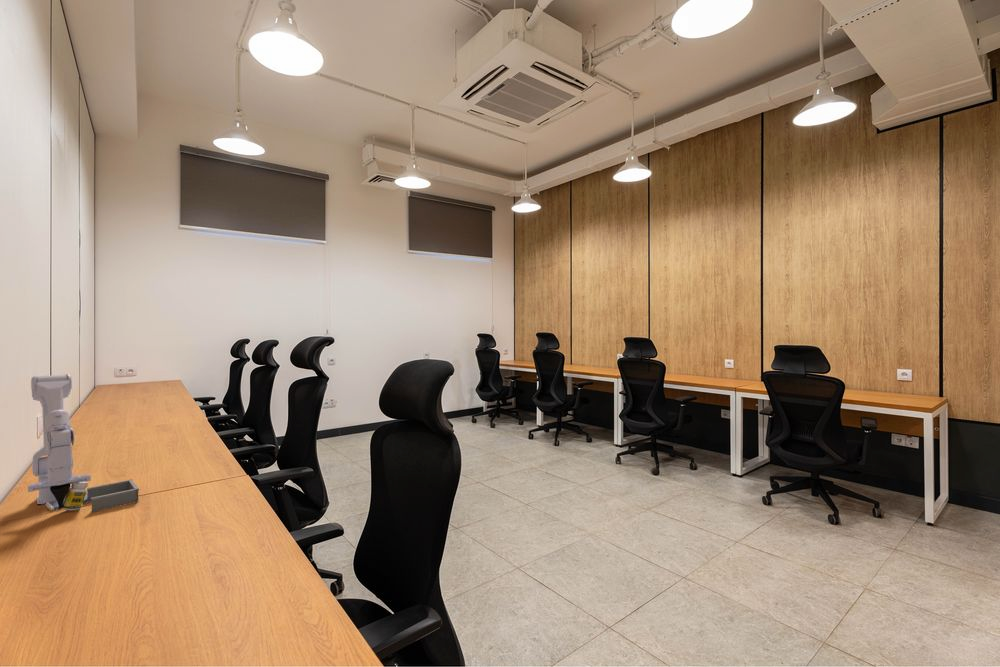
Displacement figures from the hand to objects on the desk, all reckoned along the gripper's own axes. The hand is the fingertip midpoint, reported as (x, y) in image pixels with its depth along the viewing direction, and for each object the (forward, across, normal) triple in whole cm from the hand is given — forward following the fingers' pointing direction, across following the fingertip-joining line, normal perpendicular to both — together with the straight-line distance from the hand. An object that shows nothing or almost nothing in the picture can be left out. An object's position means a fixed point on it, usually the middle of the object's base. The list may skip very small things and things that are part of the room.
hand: (60, 507), depth 146 cm
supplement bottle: (+1, +2, 0) cm, 3 cm away
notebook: (+2, +3, +9) cm, 10 cm away
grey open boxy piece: (+2, +13, 0) cm, 13 cm away
